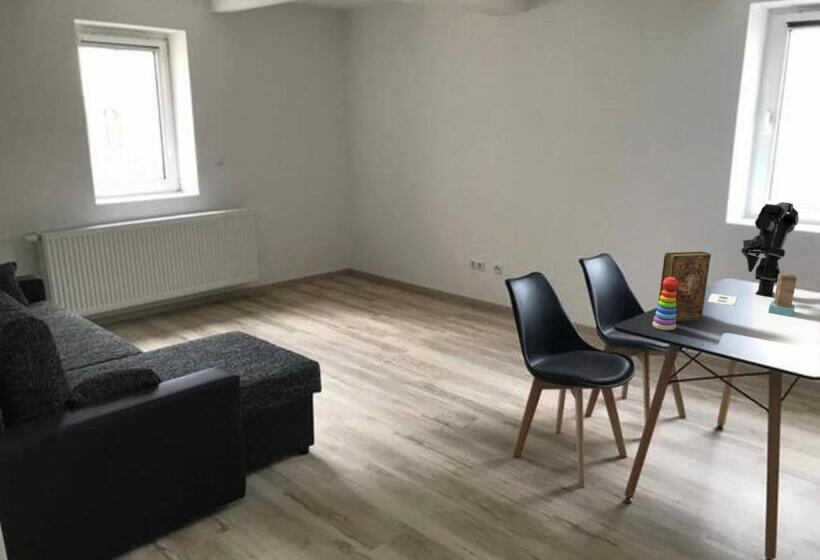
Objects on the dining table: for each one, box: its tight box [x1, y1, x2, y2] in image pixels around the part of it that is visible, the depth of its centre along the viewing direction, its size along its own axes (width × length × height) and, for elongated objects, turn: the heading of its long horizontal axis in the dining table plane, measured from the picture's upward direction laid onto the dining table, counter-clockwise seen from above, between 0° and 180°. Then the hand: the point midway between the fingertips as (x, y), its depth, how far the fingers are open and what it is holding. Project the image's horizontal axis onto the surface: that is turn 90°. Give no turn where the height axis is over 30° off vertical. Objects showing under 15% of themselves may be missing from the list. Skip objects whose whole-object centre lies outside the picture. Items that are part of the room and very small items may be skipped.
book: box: [656, 251, 712, 322], centre depth 243 cm, size 16×6×25 cm, turn 102°
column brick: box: [773, 272, 798, 307], centre depth 254 cm, size 5×5×12 cm
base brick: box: [768, 300, 796, 318], centre depth 256 cm, size 8×8×3 cm
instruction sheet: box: [707, 293, 738, 306], centre depth 271 cm, size 14×10×1 cm
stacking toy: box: [652, 277, 678, 331], centre depth 233 cm, size 8×8×19 cm
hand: (757, 272), depth 265 cm, fingers open, 9 cm apart
